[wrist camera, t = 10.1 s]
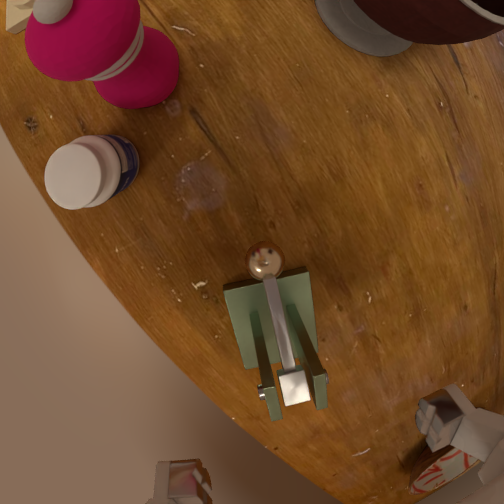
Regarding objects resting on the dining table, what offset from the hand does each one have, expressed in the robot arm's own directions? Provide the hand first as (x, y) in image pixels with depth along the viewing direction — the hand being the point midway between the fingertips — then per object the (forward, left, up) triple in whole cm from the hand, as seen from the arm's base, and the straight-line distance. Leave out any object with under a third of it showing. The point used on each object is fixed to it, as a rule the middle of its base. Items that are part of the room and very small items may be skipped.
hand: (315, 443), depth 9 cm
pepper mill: (-6, +18, -24) cm, 31 cm away
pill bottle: (-11, +10, -24) cm, 29 cm away
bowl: (+35, -59, -24) cm, 73 cm away
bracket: (+1, -10, -24) cm, 26 cm away
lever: (+1, -6, -17) cm, 19 cm away
